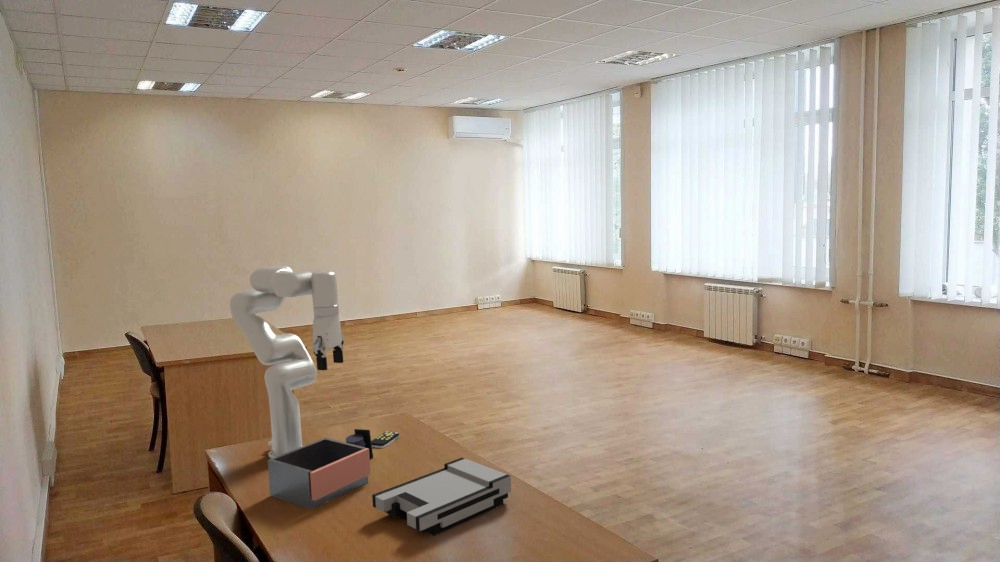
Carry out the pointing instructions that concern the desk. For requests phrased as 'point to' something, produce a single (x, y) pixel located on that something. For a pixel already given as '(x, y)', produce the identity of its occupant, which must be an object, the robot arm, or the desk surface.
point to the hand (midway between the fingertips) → (330, 366)
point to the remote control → (384, 439)
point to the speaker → (361, 439)
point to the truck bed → (308, 471)
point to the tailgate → (339, 473)
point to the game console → (445, 496)
